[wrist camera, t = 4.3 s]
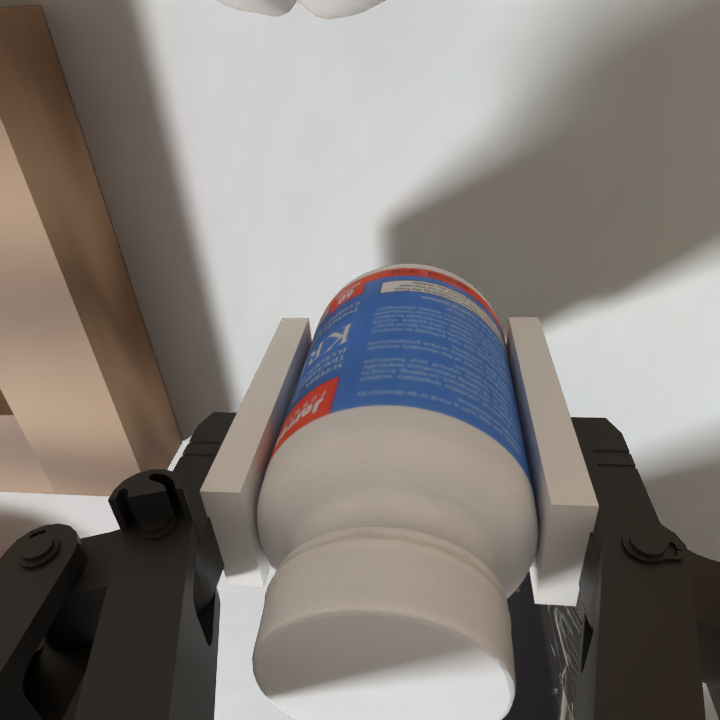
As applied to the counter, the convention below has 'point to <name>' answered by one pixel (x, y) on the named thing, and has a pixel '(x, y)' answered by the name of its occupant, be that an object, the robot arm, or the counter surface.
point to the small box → (543, 657)
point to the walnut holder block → (65, 297)
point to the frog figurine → (322, 3)
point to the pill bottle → (397, 510)
